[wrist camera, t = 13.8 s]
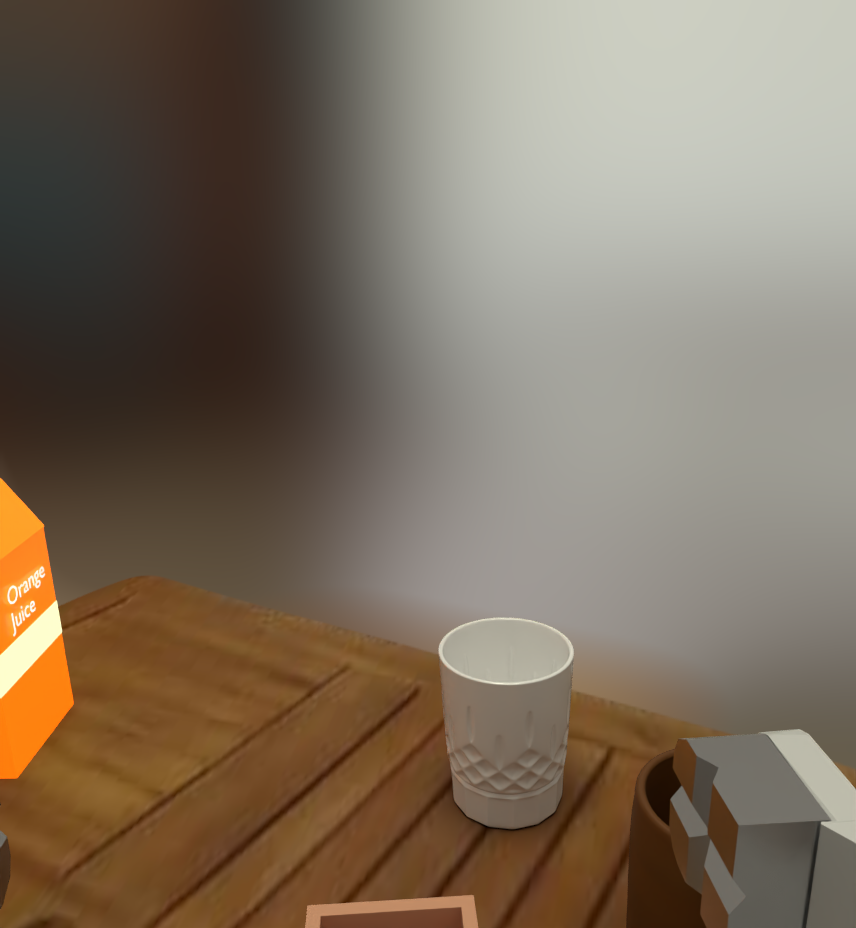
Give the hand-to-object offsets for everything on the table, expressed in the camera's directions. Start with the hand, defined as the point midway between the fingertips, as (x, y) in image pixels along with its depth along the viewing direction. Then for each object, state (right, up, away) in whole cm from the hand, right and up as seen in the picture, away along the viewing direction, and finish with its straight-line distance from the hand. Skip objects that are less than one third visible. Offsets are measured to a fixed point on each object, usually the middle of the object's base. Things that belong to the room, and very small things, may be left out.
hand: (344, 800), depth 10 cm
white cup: (+6, -17, +41) cm, 44 cm away
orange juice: (-30, -16, +48) cm, 58 cm away
